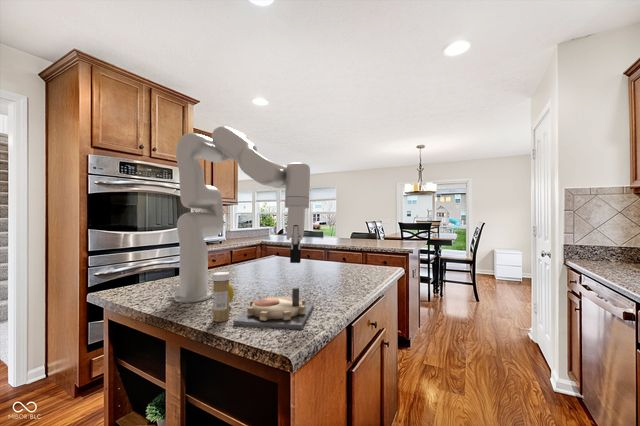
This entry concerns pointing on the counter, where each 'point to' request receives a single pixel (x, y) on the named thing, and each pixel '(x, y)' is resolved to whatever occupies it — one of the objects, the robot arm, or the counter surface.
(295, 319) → the dial base
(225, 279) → the sprinkles bottle
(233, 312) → the counter surface
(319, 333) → the counter surface
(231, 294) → the lemon
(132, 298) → the counter surface
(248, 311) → the sprocket dial
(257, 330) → the counter surface
